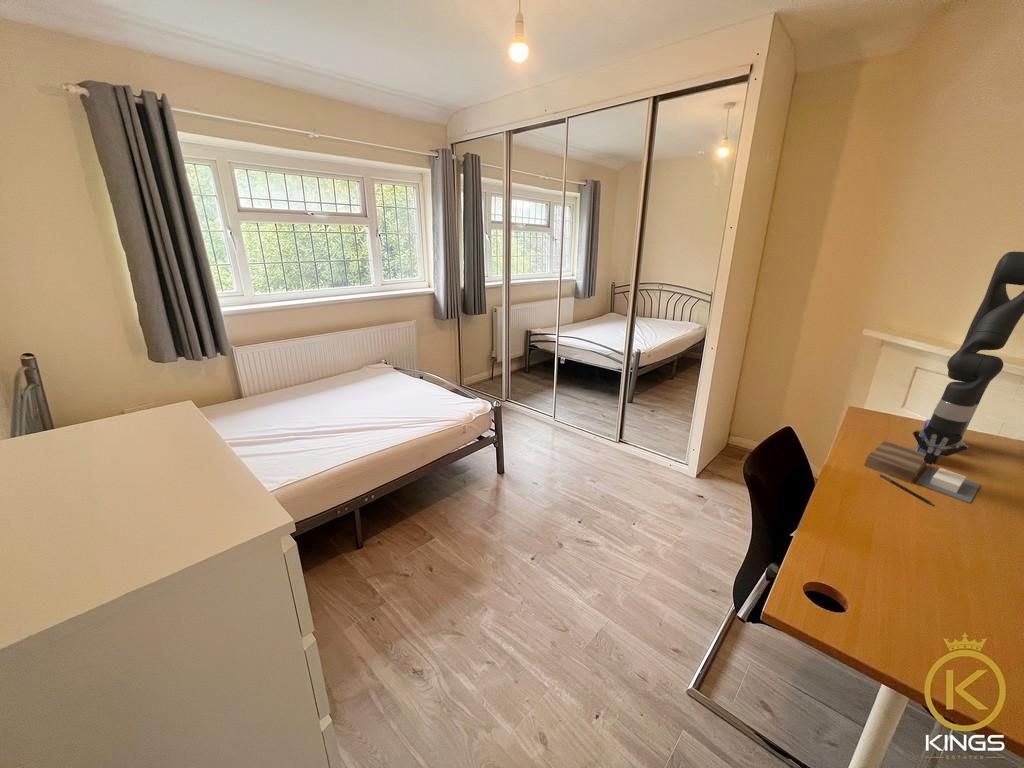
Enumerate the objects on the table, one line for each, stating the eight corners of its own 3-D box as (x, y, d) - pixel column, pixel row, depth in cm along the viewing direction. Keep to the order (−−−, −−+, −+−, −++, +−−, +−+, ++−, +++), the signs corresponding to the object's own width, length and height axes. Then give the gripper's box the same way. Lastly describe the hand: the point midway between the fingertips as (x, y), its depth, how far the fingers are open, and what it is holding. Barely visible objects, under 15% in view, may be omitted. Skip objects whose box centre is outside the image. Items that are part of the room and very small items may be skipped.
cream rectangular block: (966, 476, 127) (962, 483, 128) (940, 467, 131) (936, 474, 132) (959, 486, 122) (956, 493, 123) (932, 476, 127) (929, 483, 127)
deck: (880, 450, 147) (884, 440, 145) (925, 465, 138) (929, 455, 136) (863, 465, 137) (867, 455, 136) (910, 482, 128) (915, 472, 126)
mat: (928, 467, 136) (928, 466, 136) (979, 485, 127) (980, 484, 127) (915, 483, 128) (915, 482, 128) (969, 503, 119) (970, 502, 119)
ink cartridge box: (913, 448, 149) (928, 412, 143) (934, 453, 145) (950, 417, 140) (912, 458, 142) (928, 421, 137) (934, 464, 138) (951, 427, 133)
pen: (932, 508, 117) (934, 504, 117) (878, 476, 132) (879, 473, 131) (935, 507, 117) (937, 504, 117) (881, 476, 132) (882, 473, 131)
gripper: (984, 420, 121) (960, 469, 127) (925, 405, 131) (905, 451, 137) (980, 426, 117) (955, 476, 123) (919, 410, 127) (898, 457, 133)
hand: (928, 463), depth 130 cm, fingers closed
